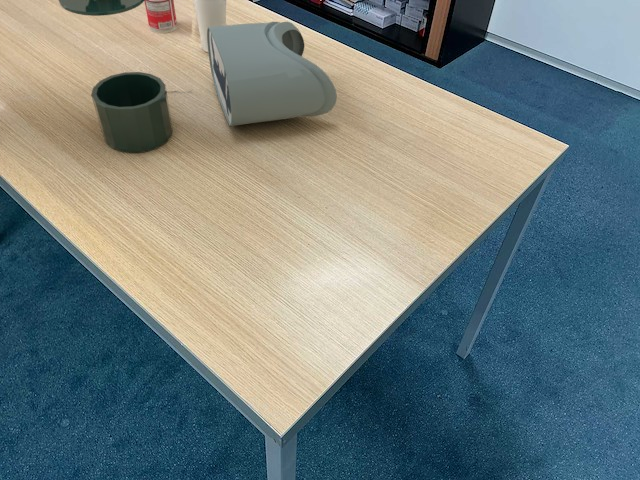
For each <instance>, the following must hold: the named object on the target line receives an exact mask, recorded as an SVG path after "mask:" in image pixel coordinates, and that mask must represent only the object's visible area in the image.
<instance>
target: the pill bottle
mask: <svg viewBox="0 0 640 480" xmlns="http://www.w3.org/2000/svg"><path fill="white" fill-rule="evenodd" d="M143 3H144V7H145V11H146V18H147V22H148V28H149V30H150V31H151V32H153V33H157V34H168V33H173V32H174V31H176V30H177V28H178V21H177V14H176V8H175V1H174V0H144V2H143Z"/></svg>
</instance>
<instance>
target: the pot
mask: <svg viewBox="0 0 640 480" xmlns="http://www.w3.org/2000/svg"><path fill="white" fill-rule="evenodd" d="M91 99H92V102H93V107H94V110H95V114H96V117H97V120H98V123H99V127H100V131H101V134H102V137H103V139H104V142H105V144H106V145H108V147H109V148H111V149H113V150H115V151H118V152H121V153H126V154H140V153H147V152H151V151H154V150H157V149H158V148H161V147H162V146H164V145H165V144H166V143H167V142H168V141H170V139H171V138H172V136H173V132H174V131H173V130H174V129H173V121H172V114H171V110H170V103H169V98H168V91H167V86H166V83H164V81H163V80H162V78H160V77H158V76H156V75H154V74H152V73H147V72H142V71H129V72H128V71H127V72H126V71H125V72H121V73H116V74H111V75H109V76H107V77H105V78H103V79H100V80H99V82H97V83H96V84H95V85H94V86H93V87H92V91H91Z"/></svg>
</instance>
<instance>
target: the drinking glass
mask: <svg viewBox="0 0 640 480" xmlns="http://www.w3.org/2000/svg"><path fill="white" fill-rule="evenodd" d="M192 2H193V8H194V13H195V17H196V23H197V27H198V33H199V38H200V46H201V49H202V50H203V52H205V53H207V54H209V53H208V42H207V29H208V27H215V26H226V25H227V0H192Z"/></svg>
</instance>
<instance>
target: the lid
mask: <svg viewBox="0 0 640 480" xmlns="http://www.w3.org/2000/svg"><path fill="white" fill-rule="evenodd" d="M143 3H145V2H144V0H58V4H59V6H60V7H61V8H62V9H64V10H65V11H68V12H70V13H73V14H77V15H81V16H90V17H91V16H93V17H94V16H95V17H99V16H102V17H103V16H111V15H118V14H122V13H125V12H129V11H132V10H134V9H136V8H138V7H140V6H141V5H142V4H143Z"/></svg>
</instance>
